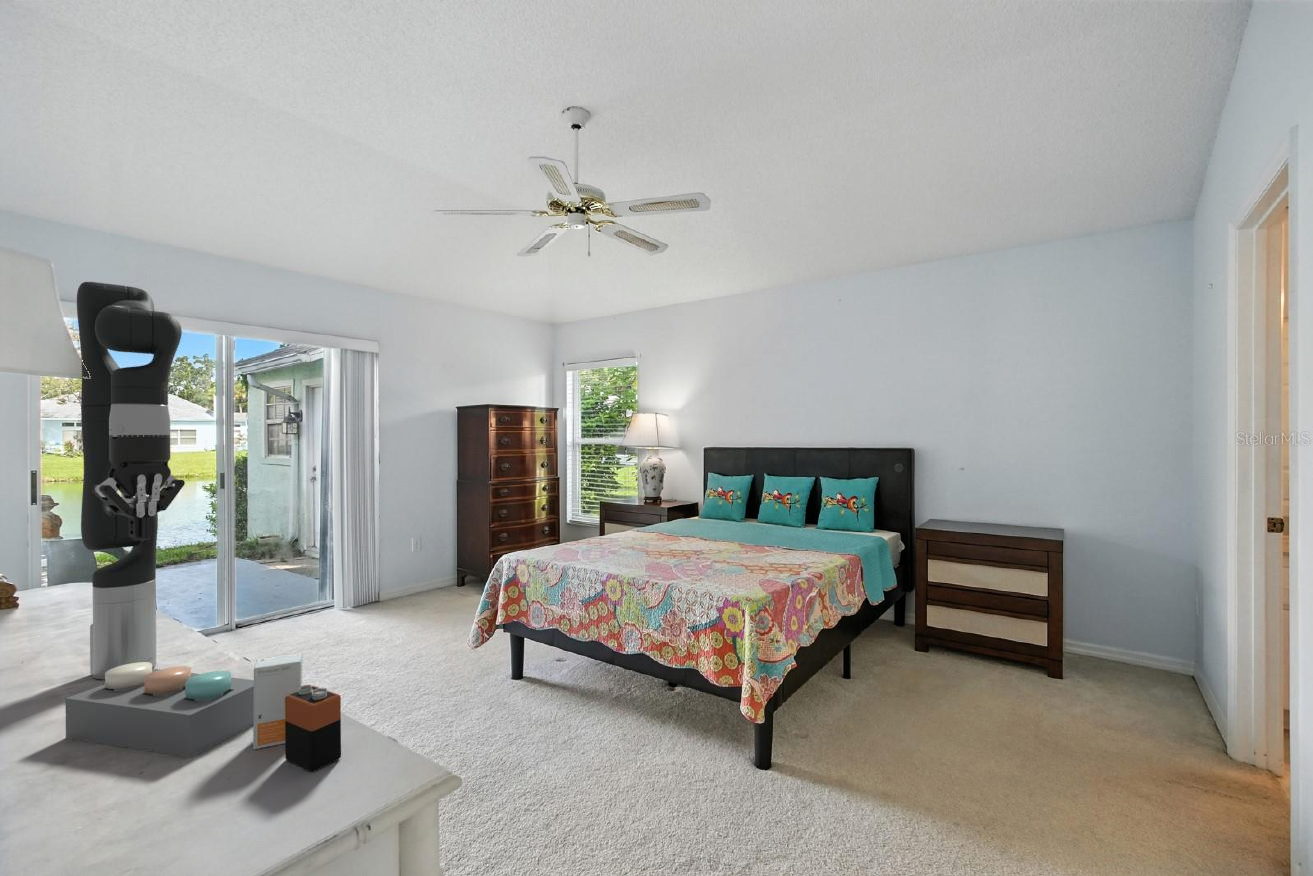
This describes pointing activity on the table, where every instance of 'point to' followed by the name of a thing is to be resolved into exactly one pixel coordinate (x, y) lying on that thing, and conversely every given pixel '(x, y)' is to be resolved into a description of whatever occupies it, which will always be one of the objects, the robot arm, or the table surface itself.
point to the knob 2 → (208, 685)
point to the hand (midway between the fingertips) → (141, 539)
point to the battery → (312, 727)
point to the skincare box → (273, 696)
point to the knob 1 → (127, 676)
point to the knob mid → (166, 681)
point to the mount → (159, 718)
